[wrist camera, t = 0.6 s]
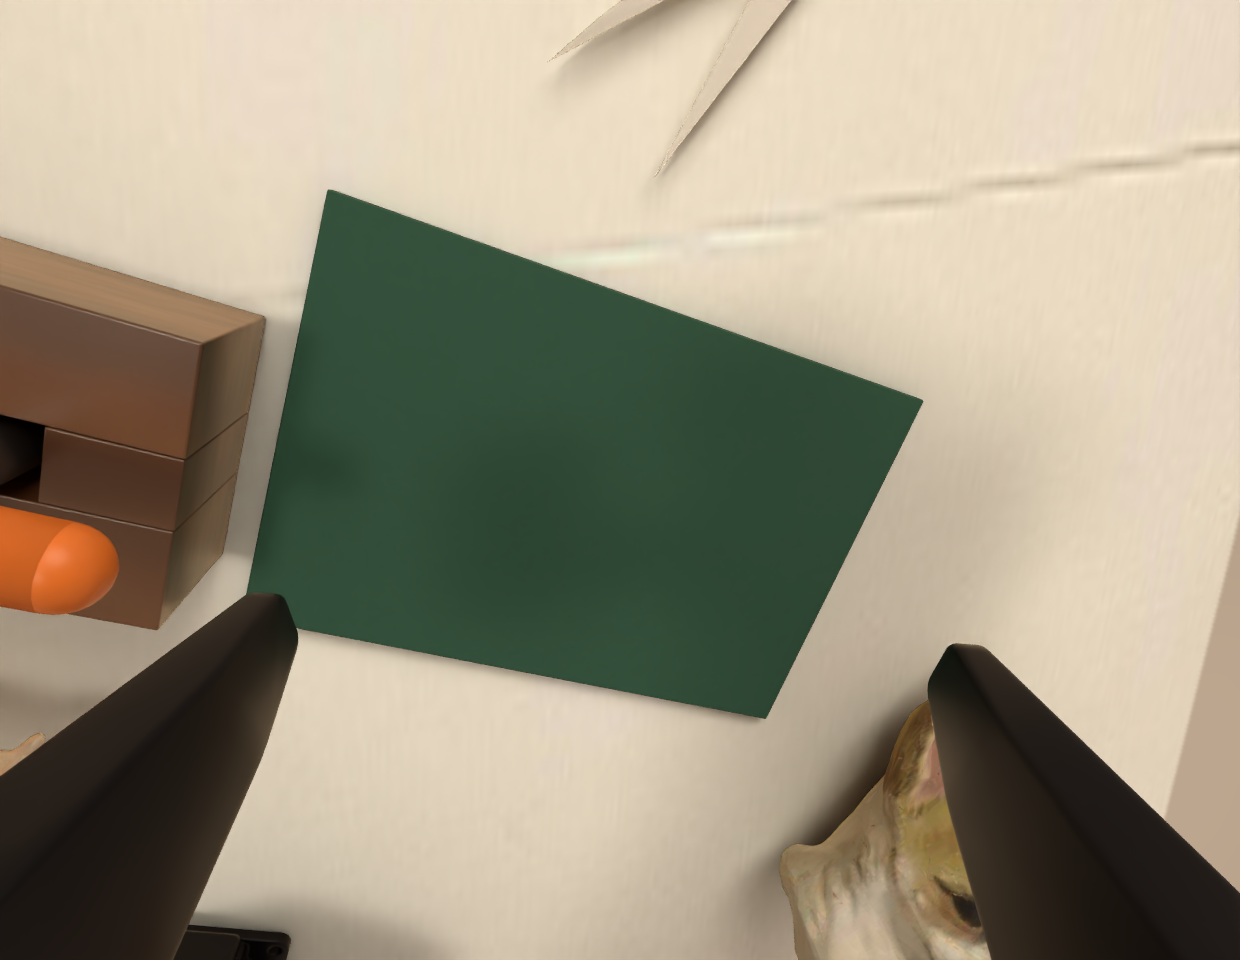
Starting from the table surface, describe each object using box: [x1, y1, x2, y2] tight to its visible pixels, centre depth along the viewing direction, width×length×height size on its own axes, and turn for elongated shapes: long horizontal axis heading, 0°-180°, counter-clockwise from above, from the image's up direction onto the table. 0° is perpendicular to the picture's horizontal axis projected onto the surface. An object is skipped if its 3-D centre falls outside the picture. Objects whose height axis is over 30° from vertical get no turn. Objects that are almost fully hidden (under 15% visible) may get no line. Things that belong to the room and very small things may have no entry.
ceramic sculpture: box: [779, 700, 991, 960], centre depth 27 cm, size 11×9×15 cm
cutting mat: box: [246, 190, 923, 719], centre depth 23 cm, size 14×20×1 cm
